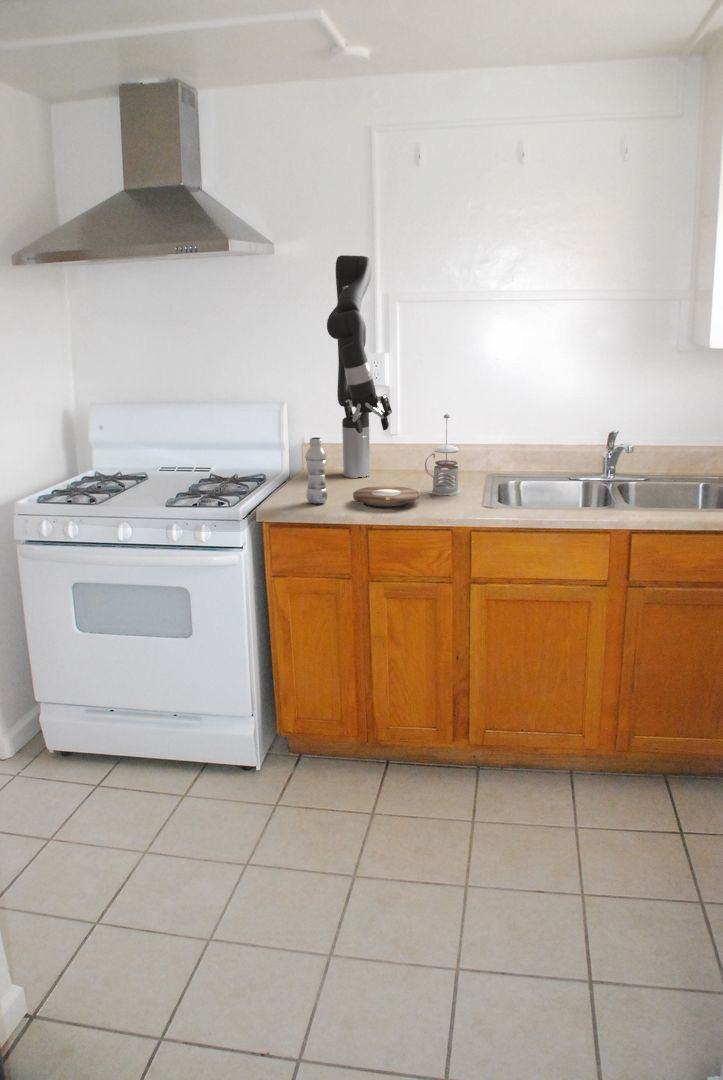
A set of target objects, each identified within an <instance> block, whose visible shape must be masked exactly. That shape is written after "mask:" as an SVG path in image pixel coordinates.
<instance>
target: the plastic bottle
mask: <svg viewBox="0 0 723 1080" xmlns="http://www.w3.org/2000/svg"><path fill="white" fill-rule="evenodd" d="M308 444H309V448H308V449H307V451H306V453H305V460H306V461H305V463H306V469H307V489H306V500H307V502H308V503H309V504H316V505H318V504H323V503H326V501H327V500H328V489H327V481H326V465H327V452H326V451H325V449H324V448H323V447H322V445H323V442H322V437H315V436H314V437H310V438H309V443H308Z"/></svg>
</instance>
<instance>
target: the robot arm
mask: <svg viewBox="0 0 723 1080" xmlns="http://www.w3.org/2000/svg"><path fill="white" fill-rule="evenodd" d="M371 278H372V263H371V259H370V257H368V256H365V255H364V256H363V255H349V254H346V255H344V254H343V255H342V254H341V255H339V256H337V258H336V262H335V281H336V282H335V285H336V287H335V288H336V297H337V298H336V299H337V303H336V306H335V307H334V309H332V311H331V312H330V314H329V316H328V318H327V320H326V330H327V332H328V335H329V336H330V337H331V338H333V339H335V340H337V349H338V350H337V353H338V354H337V356H338V359H337V360H338V369H337V370H338V371H337V372H338V374H337V401H338V404H339V406H340V407H343V409H344V413H345V417H343V419H342V421H341V424H342V425H341V427H342V471H343V474H342V475H343V477H345V478H350V479H351V478H352V479H353V478H354V479H358V477H362V478H367V477H369V476H370V475H371V474H370V473H371V472H370V470H371V468H370V467H371V466H370V413H373V414H375V415H377V416H378V417H379V418H380V423H381V427H382V430H383V431H387V430H388V428H389V427H390V424H389V420H388V419H389V418H388V417H389V416H390V415H391V414H392V412H393V411H392V407H391V405H390V400H389V398H388V395H387V394H383V395H381V396H378V395H377V393H376V392H377V391H376V387H375V383H374V378H373V374H372V371H371V367H370V365H369V362H368V358H367V354H366V351H365V346H366V342H367V341H366V339H367V336H366V333H367V332H366V330H367V329H366V322H365V320H364V318H363V315H362V314H361V308H362V302H363V298H364V296H365V294H366V293H367V290H368V287H369V285H370V282H371ZM380 404H381V405H382V406H381V405H380ZM353 407H354V408H355V411H354V412H353V409H352V408H353ZM366 476H367V477H366Z"/></svg>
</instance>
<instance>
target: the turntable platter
mask: <svg viewBox="0 0 723 1080" xmlns="http://www.w3.org/2000/svg"><path fill="white" fill-rule="evenodd" d="M352 495H353V497H352V498H353V500H355V501H356V502H358V503H362V504H363V503H367V504H375V505H396V504H405V503H409V504H410V503H413V502H415V501H418V500H419V499H420V492H419V491H418V490H416V489H414V488H410V487H405V486H395V485H378V486H376V485H375V486H367V487H362V488H360V489H357V490H356V489H355V491H354V492H353V494H352Z"/></svg>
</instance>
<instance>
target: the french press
mask: <svg viewBox="0 0 723 1080" xmlns="http://www.w3.org/2000/svg"><path fill="white" fill-rule="evenodd" d="M450 417H451V416H450V414H448V413H445V414H444V415H443V418H444V419H446V422H445V423H446V424H445V425H446V430H445V432H446V433H445V434H446V435H445V436H446V437H445V444H442V445H441V444H440V445H439V446H437V447H435V448H434V449H433V451H434V452H435V453H434V452H432V453H431V454H429V455H428V456H427V457H426V459H425V461H424V469H425V472H426V474H427V475H429V476H430V477H431V478H433V480H432V481H433V482H432V483H433V485H432V486H433V487H432V490H430V493H431V492H432V493H433V494H432V493H431V494H432V495H435V494H438V495H437V496H442V495H451V496H456V495H455V494H458V495H460V494H461V493H460V491H461V490H460V489H459V466H457V465H458V462H457V461H456V460H451V459H447V456H448V455H447V454H456V453H459V451H460V449H459V448H458V447H456V446H454V445H451V444H448V419H450ZM436 453H437V454H445V459H441V460H436V461H435V462H434V463H435V466H434V467H433V474H432V473H431V472H430V471H429V470H428V467H427V462H428V459H429V458H430V457H431V456H433V459H435V458H436ZM459 493H460V494H459Z"/></svg>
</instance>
